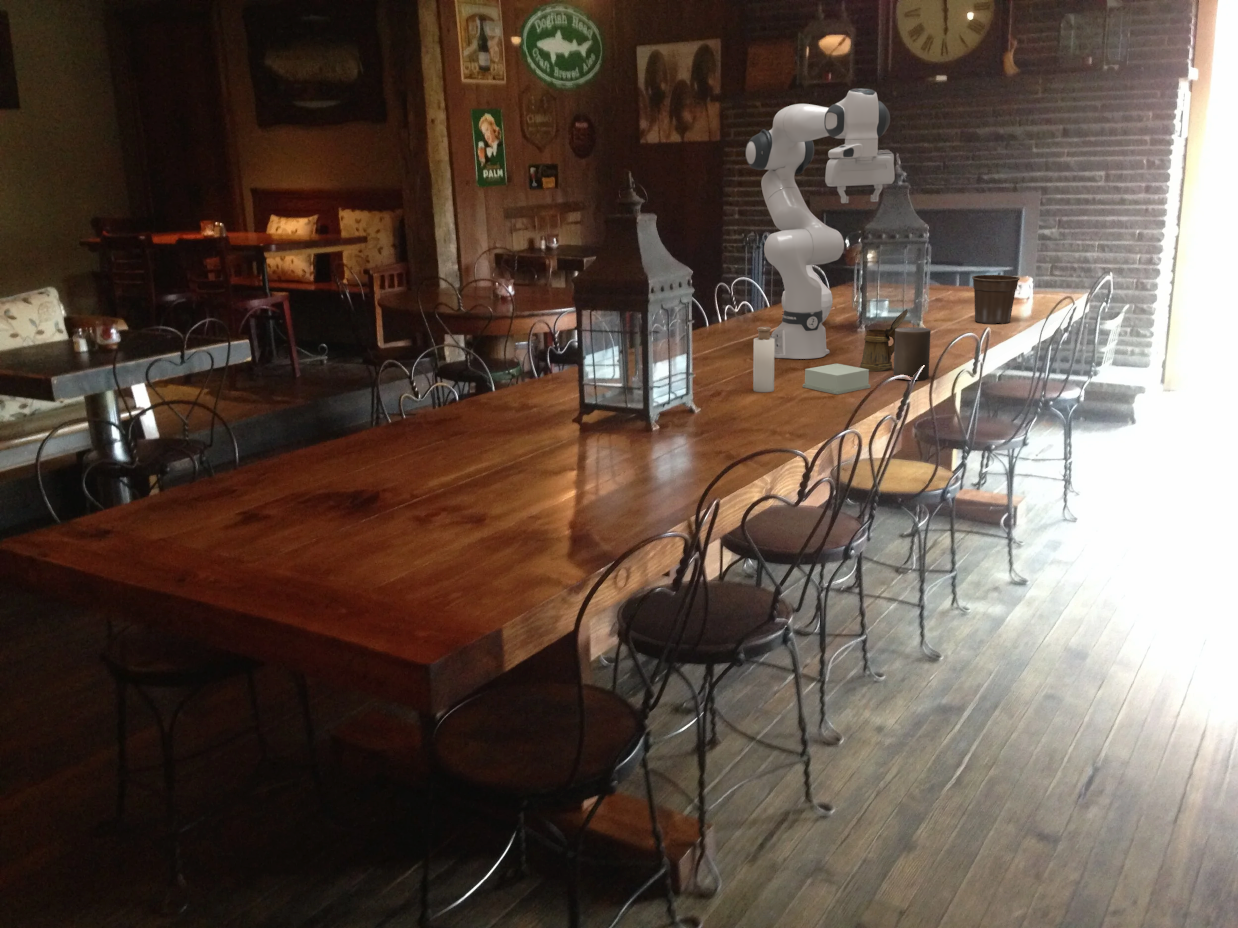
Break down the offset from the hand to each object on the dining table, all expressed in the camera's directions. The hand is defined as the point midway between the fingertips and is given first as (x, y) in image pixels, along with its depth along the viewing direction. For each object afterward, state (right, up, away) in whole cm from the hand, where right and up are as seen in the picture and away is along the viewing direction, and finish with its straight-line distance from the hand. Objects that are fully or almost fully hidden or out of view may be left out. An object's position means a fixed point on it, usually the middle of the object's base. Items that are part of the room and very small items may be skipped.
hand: (859, 202), depth 311 cm
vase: (+2, -22, +99) cm, 101 cm away
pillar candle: (+15, -49, +4) cm, 51 cm away
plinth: (-8, -52, -6) cm, 53 cm away
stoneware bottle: (-27, -52, -6) cm, 60 cm away
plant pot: (+68, -21, +94) cm, 118 cm away
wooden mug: (+10, -45, +17) cm, 49 cm away
